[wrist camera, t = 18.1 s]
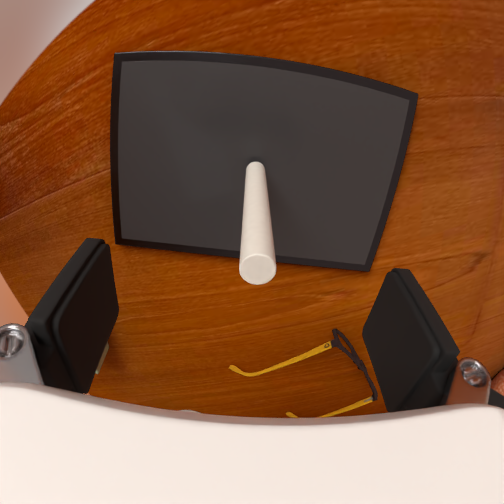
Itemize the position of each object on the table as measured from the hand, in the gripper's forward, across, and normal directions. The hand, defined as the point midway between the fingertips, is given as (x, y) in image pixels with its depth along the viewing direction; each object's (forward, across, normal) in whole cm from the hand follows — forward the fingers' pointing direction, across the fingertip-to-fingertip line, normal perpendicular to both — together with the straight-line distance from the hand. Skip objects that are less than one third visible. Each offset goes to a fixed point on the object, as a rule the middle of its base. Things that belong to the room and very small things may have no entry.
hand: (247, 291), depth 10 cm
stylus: (+16, -1, 0) cm, 16 cm away
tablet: (+17, -1, 0) cm, 17 cm away
